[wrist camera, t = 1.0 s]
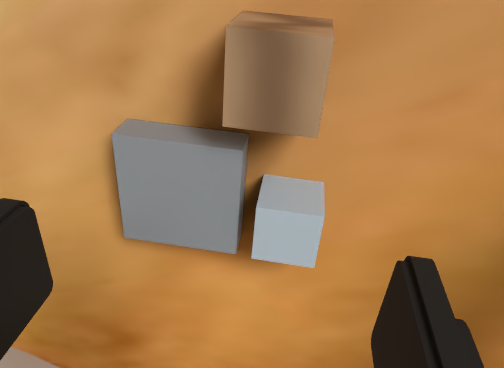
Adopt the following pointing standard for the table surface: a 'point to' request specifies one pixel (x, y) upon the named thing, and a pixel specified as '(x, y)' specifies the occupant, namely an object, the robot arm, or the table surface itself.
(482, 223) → the table surface
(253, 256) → the bluegrey block
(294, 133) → the walnut cube
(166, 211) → the grey rectangular block
